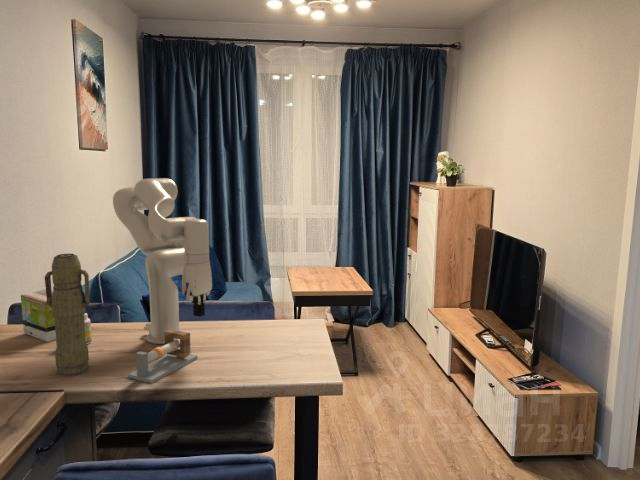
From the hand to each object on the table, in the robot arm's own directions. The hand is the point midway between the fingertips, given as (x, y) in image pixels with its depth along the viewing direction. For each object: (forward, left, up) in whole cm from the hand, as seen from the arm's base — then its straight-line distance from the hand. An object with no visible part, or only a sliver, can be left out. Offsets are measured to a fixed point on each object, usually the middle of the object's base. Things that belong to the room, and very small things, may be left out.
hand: (199, 315), depth 167 cm
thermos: (-27, -26, -14) cm, 40 cm away
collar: (-4, -6, -12) cm, 14 cm away
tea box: (-61, -7, -14) cm, 63 cm away
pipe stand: (-4, -12, -14) cm, 18 cm away
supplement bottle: (-43, -8, -14) cm, 46 cm away
